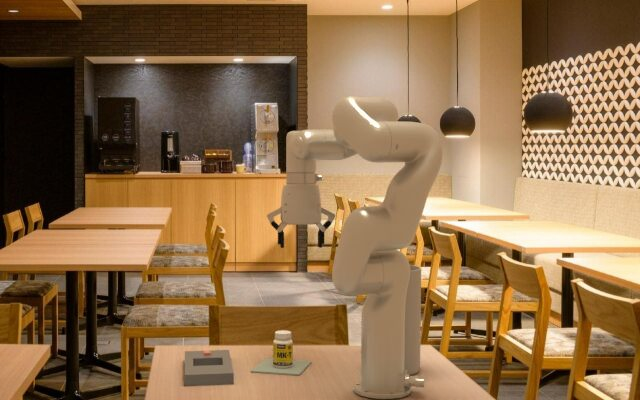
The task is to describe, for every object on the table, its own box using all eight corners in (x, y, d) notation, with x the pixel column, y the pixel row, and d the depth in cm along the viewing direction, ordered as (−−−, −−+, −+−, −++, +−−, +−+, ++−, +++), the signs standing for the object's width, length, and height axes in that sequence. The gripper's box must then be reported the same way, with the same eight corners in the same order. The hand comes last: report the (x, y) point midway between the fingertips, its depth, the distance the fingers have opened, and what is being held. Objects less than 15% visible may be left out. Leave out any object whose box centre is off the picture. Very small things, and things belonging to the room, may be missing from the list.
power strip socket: (184, 361, 212) (184, 348, 212) (228, 359, 214) (228, 347, 214) (184, 385, 191) (184, 372, 190) (233, 383, 192) (233, 370, 192)
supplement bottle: (275, 369, 204) (275, 334, 203) (271, 364, 208) (271, 330, 207) (294, 367, 205) (294, 333, 204) (290, 363, 209) (290, 329, 209)
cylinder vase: (368, 377, 198) (369, 271, 197) (367, 363, 211) (368, 263, 209) (422, 377, 198) (423, 271, 196) (417, 364, 210) (418, 264, 209)
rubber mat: (311, 362, 211) (311, 361, 211) (299, 375, 199) (299, 374, 199) (265, 360, 214) (265, 358, 214) (250, 372, 202) (250, 370, 202)
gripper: (333, 179, 218) (332, 245, 220) (266, 179, 216) (266, 245, 218) (337, 180, 211) (336, 248, 212) (267, 180, 209) (267, 249, 210)
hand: (301, 247), depth 215 cm, fingers open, 9 cm apart
